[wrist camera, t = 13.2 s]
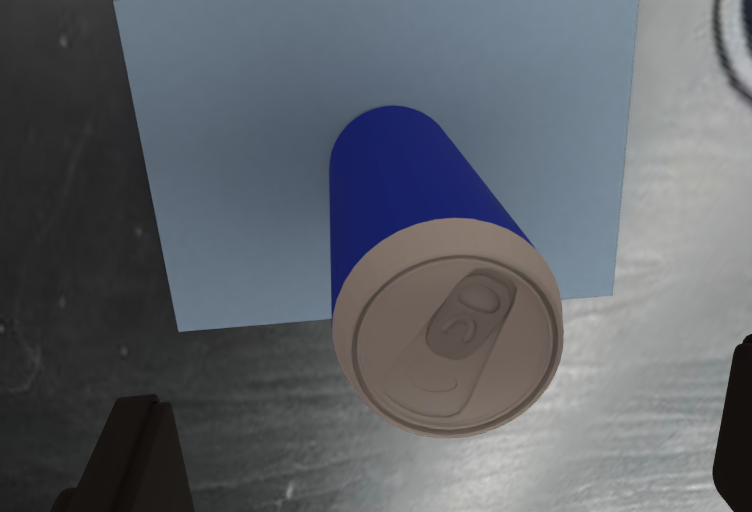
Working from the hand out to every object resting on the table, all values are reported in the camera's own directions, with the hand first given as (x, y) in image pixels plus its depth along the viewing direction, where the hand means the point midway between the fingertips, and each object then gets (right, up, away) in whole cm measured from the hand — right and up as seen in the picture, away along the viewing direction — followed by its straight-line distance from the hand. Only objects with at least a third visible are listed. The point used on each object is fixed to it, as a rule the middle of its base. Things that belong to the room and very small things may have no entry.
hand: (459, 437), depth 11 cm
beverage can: (-1, +7, +17) cm, 18 cm away
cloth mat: (-1, +7, +17) cm, 19 cm away
